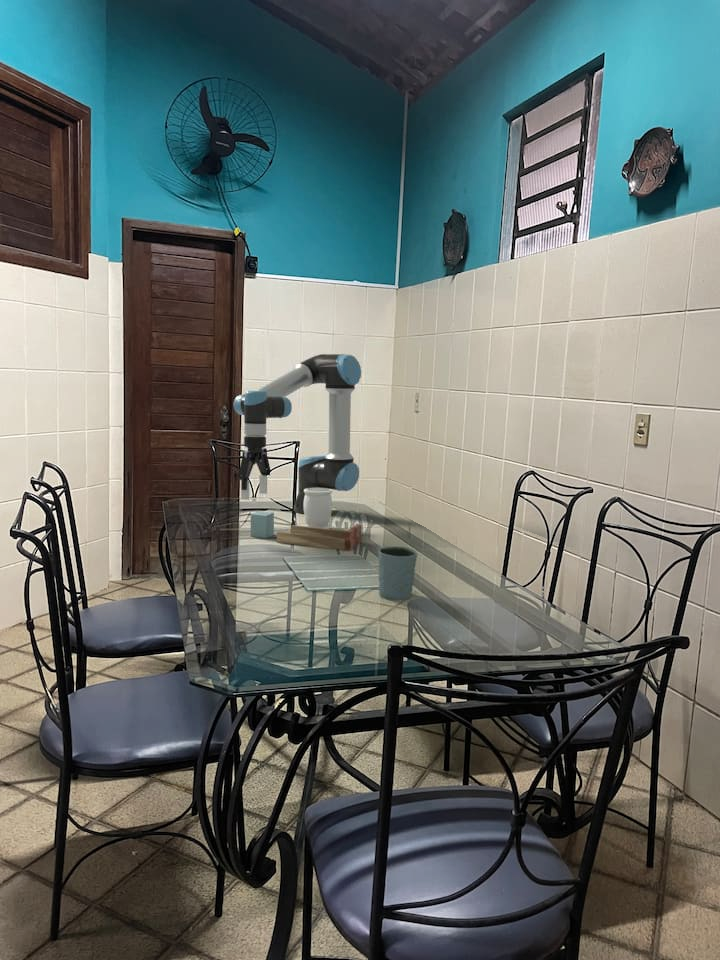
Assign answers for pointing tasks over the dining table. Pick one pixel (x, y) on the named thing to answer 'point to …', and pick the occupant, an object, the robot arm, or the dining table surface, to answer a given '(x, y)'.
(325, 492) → the jar
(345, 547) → the trough
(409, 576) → the blue-grey cup
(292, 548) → the dining table surface
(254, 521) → the block
